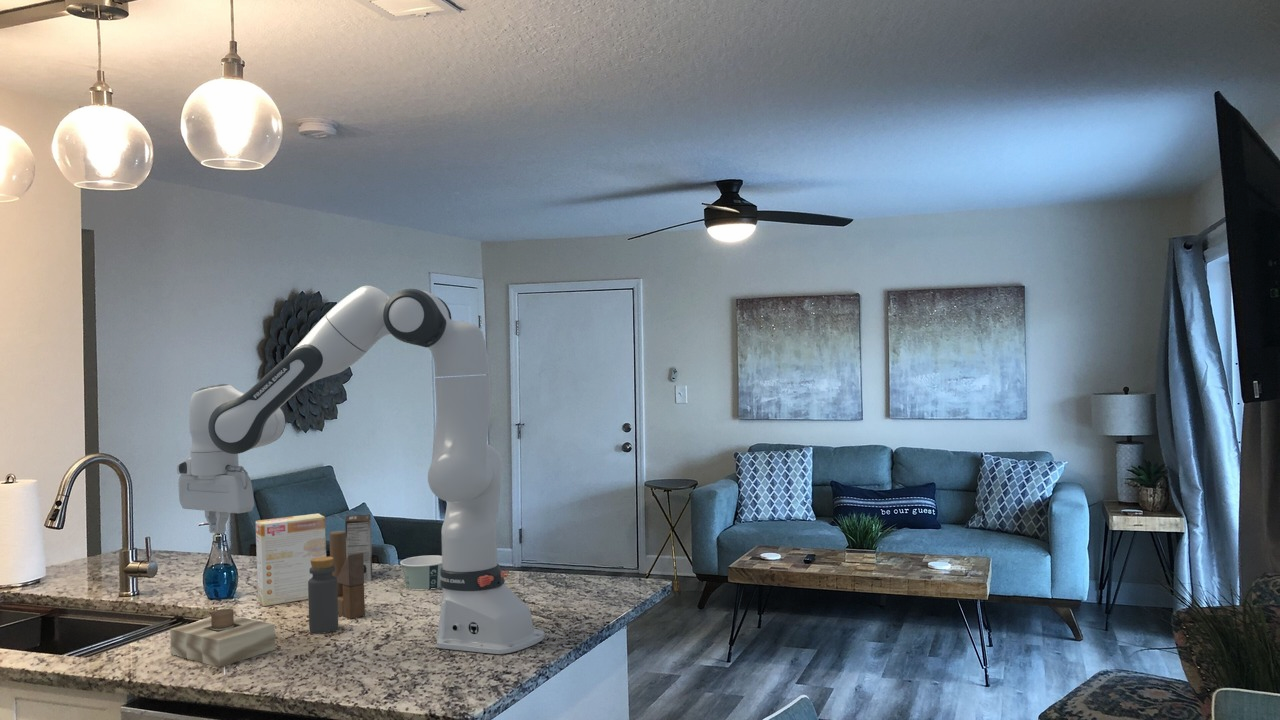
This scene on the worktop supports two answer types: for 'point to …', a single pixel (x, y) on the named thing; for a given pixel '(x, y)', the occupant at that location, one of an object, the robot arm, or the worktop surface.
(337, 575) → the wooden block
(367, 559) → the coffee box
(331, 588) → the bottle
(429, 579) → the food container
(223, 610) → the peg
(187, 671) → the worktop surface
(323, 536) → the coffeecake box
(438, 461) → the robot arm
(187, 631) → the board
